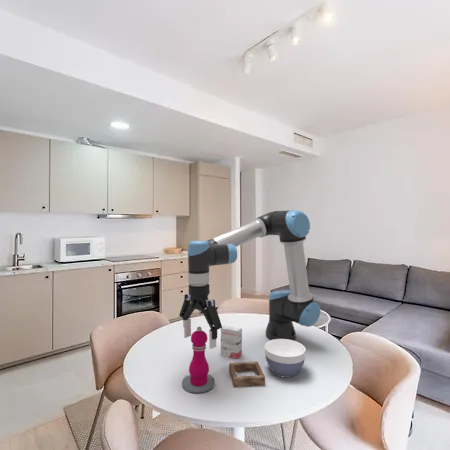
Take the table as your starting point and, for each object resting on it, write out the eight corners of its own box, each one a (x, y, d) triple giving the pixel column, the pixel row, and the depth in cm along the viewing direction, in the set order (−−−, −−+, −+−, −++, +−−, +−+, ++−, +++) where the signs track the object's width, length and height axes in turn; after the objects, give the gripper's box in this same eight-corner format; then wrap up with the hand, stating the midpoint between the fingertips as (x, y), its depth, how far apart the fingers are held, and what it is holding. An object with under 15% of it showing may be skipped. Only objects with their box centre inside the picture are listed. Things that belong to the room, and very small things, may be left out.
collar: (257, 368, 115) (257, 361, 115) (265, 385, 104) (265, 377, 104) (229, 370, 114) (229, 363, 114) (233, 387, 103) (233, 379, 103)
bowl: (298, 387, 103) (298, 360, 103) (257, 374, 111) (257, 349, 111) (310, 367, 117) (310, 344, 116) (273, 357, 125) (273, 335, 125)
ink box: (242, 354, 128) (242, 327, 128) (238, 359, 123) (238, 331, 123) (224, 350, 132) (224, 324, 131) (219, 355, 127) (219, 328, 127)
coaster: (213, 373, 112) (213, 371, 112) (216, 392, 100) (216, 390, 100) (182, 375, 110) (182, 373, 110) (181, 394, 98) (181, 392, 98)
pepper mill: (193, 389, 100) (194, 331, 100) (185, 379, 106) (186, 325, 106) (212, 383, 103) (212, 328, 103) (203, 374, 110) (203, 321, 109)
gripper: (231, 287, 98) (232, 348, 99) (185, 277, 115) (185, 329, 116) (216, 291, 93) (216, 356, 94) (169, 280, 110) (170, 335, 111)
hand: (199, 341), depth 105 cm, fingers open, 13 cm apart
